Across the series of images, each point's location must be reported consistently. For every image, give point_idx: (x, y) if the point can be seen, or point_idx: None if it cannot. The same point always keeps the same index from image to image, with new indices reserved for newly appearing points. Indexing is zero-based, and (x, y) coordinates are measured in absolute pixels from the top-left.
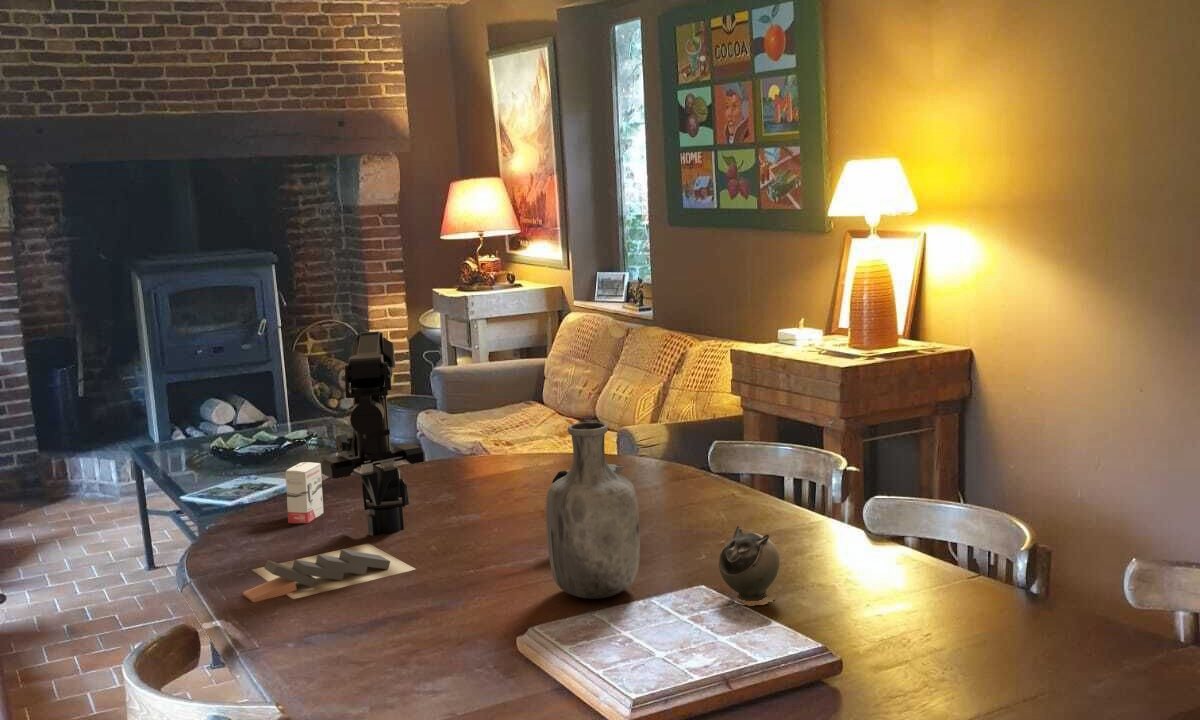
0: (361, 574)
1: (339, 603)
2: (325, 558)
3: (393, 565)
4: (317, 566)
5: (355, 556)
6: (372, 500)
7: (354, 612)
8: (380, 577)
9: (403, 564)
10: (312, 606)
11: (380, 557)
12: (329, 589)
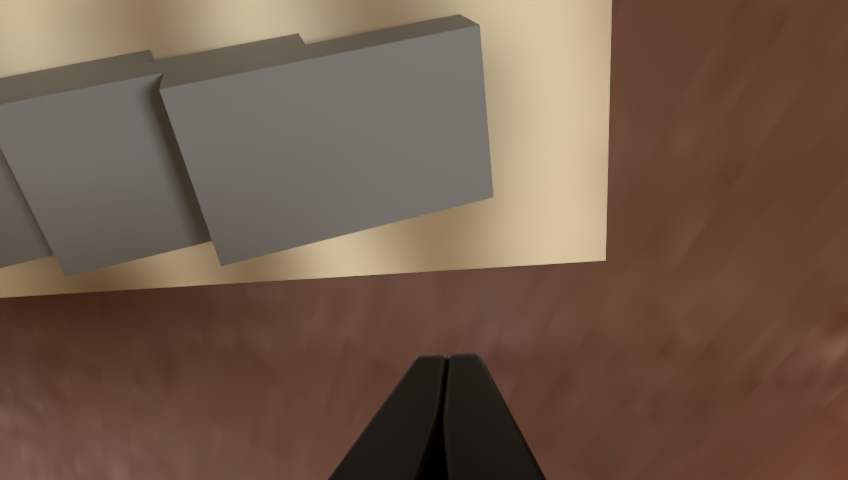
0: None
1: (178, 370)
2: (46, 222)
3: (530, 124)
4: (15, 222)
5: (247, 258)
6: (391, 396)
7: (223, 466)
8: (394, 268)
9: (588, 143)
10: (68, 342)
11: (456, 121)
12: (130, 280)
